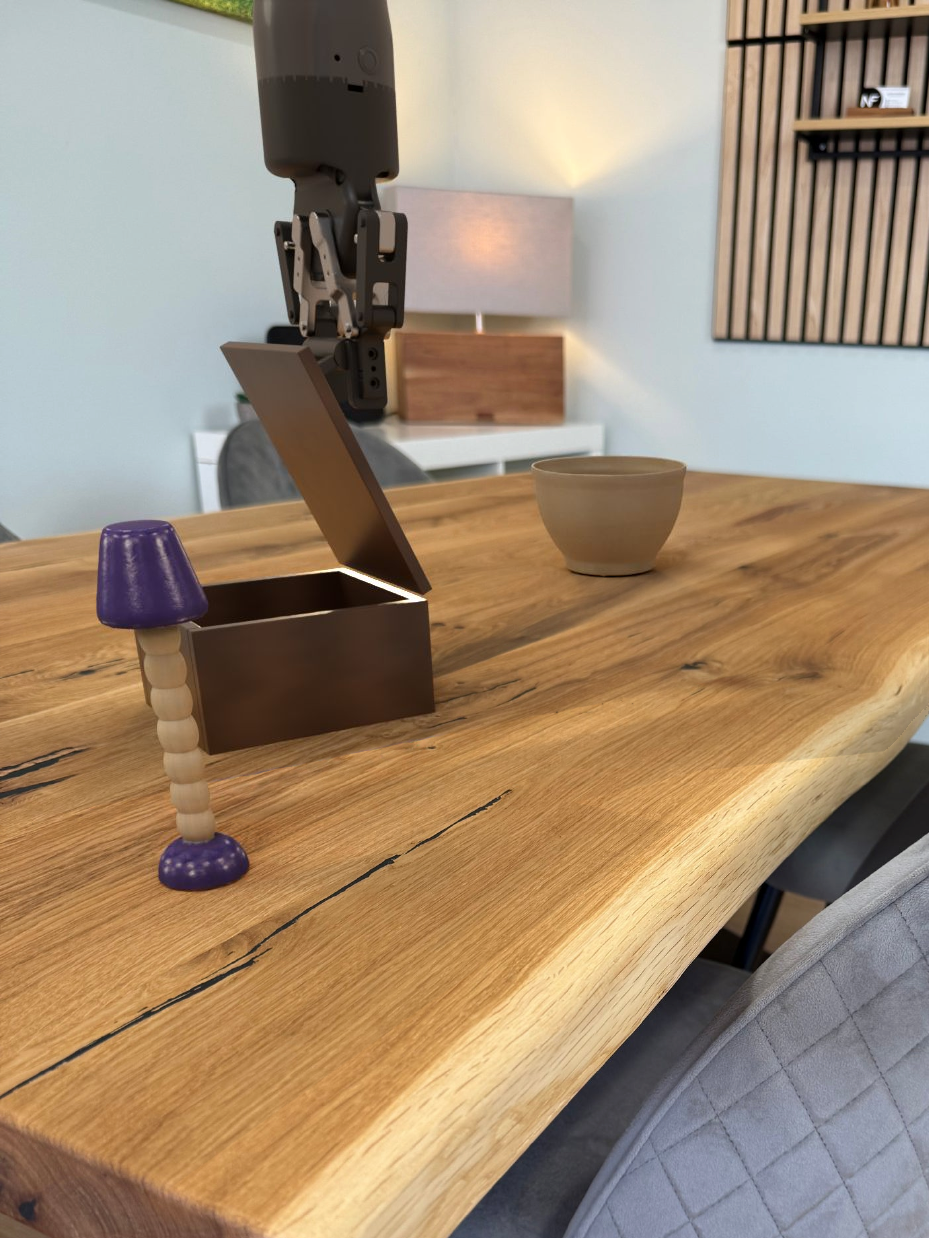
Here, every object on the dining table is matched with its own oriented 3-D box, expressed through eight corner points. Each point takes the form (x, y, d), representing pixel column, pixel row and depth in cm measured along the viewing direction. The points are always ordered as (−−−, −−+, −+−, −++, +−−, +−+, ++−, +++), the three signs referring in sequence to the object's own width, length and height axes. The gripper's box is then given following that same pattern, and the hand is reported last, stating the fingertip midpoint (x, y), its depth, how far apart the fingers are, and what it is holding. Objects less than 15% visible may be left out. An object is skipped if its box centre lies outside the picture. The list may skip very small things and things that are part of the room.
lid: (297, 352, 65) (371, 310, 67) (218, 346, 74) (285, 310, 76) (422, 596, 75) (485, 554, 76) (339, 564, 84) (396, 527, 85)
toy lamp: (192, 903, 56) (132, 535, 49) (123, 881, 58) (56, 526, 51) (268, 865, 60) (222, 520, 53) (201, 846, 62) (149, 512, 55)
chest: (213, 780, 71) (191, 632, 67) (149, 726, 80) (127, 592, 76) (437, 735, 78) (428, 599, 75) (355, 690, 88) (344, 567, 84)
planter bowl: (519, 559, 135) (516, 457, 130) (656, 552, 139) (657, 453, 135) (555, 588, 121) (552, 475, 116) (705, 579, 125) (708, 470, 121)
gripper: (216, 89, 71) (247, 400, 77) (313, 52, 60) (339, 414, 67) (337, 105, 75) (357, 398, 82) (447, 73, 64) (459, 412, 71)
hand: (349, 404), depth 74 cm, fingers closed on lid, 5 cm apart
